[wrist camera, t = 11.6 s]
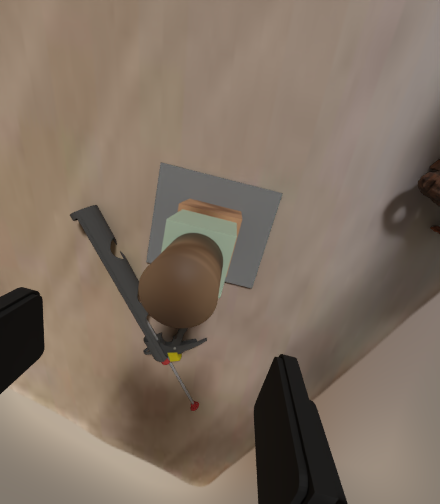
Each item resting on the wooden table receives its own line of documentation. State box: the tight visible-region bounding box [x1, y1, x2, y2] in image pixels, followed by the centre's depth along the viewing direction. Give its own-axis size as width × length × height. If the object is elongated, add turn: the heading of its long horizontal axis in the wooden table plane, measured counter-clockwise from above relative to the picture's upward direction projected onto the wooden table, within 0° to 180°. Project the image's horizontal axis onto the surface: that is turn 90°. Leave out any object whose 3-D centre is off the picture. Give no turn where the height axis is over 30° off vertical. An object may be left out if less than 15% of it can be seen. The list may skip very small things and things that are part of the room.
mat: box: [146, 163, 283, 288], centre depth 31 cm, size 16×14×1 cm
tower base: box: [178, 199, 242, 277], centre depth 28 cm, size 7×7×6 cm
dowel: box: [138, 233, 223, 328], centre depth 17 cm, size 5×5×6 cm
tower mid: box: [161, 209, 237, 298], centre depth 23 cm, size 6×6×6 cm
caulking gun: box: [70, 205, 207, 411], centre depth 35 cm, size 4×37×10 cm
